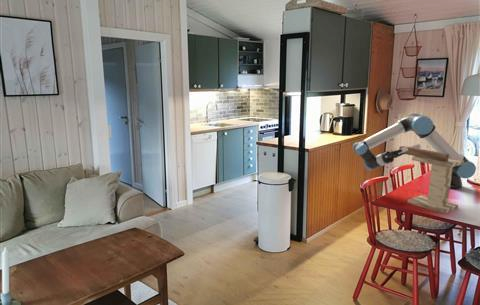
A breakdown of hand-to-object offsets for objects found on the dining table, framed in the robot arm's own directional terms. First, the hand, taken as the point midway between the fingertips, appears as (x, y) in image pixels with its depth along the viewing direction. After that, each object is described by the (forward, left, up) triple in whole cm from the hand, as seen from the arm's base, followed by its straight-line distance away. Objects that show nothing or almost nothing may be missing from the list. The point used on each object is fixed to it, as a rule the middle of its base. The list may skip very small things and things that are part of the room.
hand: (413, 147), depth 220 cm
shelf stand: (-4, +13, -34) cm, 37 cm away
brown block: (0, +6, -5) cm, 8 cm away
